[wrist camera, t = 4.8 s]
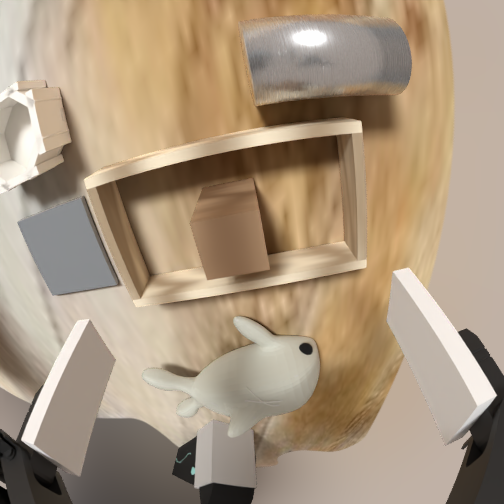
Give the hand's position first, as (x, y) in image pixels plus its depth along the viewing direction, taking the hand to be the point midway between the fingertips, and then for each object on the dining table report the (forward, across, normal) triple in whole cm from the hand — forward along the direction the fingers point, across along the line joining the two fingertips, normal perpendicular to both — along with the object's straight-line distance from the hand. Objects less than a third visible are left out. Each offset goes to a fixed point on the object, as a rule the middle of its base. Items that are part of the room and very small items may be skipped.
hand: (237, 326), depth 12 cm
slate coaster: (+13, -18, 0) cm, 22 cm away
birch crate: (+14, 0, 0) cm, 14 cm away
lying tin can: (+14, +8, +11) cm, 19 cm away
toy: (+14, -4, -19) cm, 24 cm away
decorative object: (+14, -14, -41) cm, 46 cm away
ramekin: (+13, -16, +12) cm, 24 cm away
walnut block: (+14, 0, 0) cm, 14 cm away
